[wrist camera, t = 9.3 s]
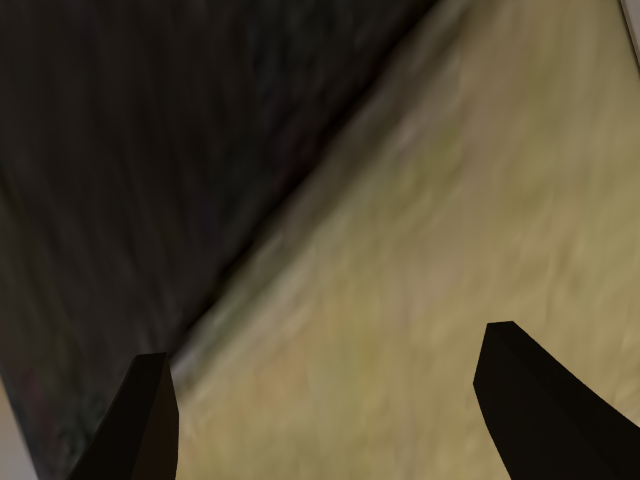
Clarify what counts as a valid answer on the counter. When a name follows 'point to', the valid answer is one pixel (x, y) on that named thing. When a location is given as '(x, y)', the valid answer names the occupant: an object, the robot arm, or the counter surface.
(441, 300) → the counter surface
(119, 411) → the robot arm
